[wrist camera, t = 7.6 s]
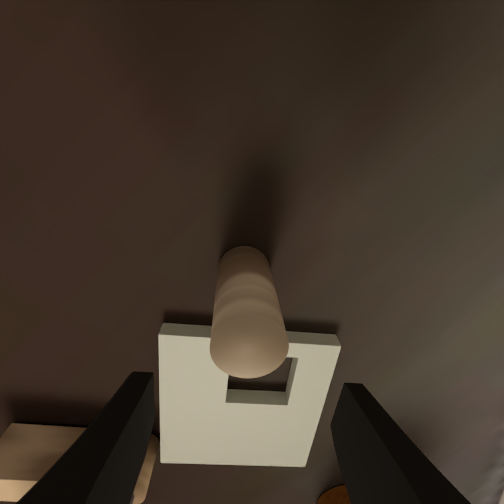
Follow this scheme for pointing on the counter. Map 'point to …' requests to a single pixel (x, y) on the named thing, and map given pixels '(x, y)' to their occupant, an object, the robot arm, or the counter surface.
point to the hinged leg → (49, 458)
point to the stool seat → (239, 402)
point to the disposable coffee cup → (335, 496)
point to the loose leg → (247, 316)
